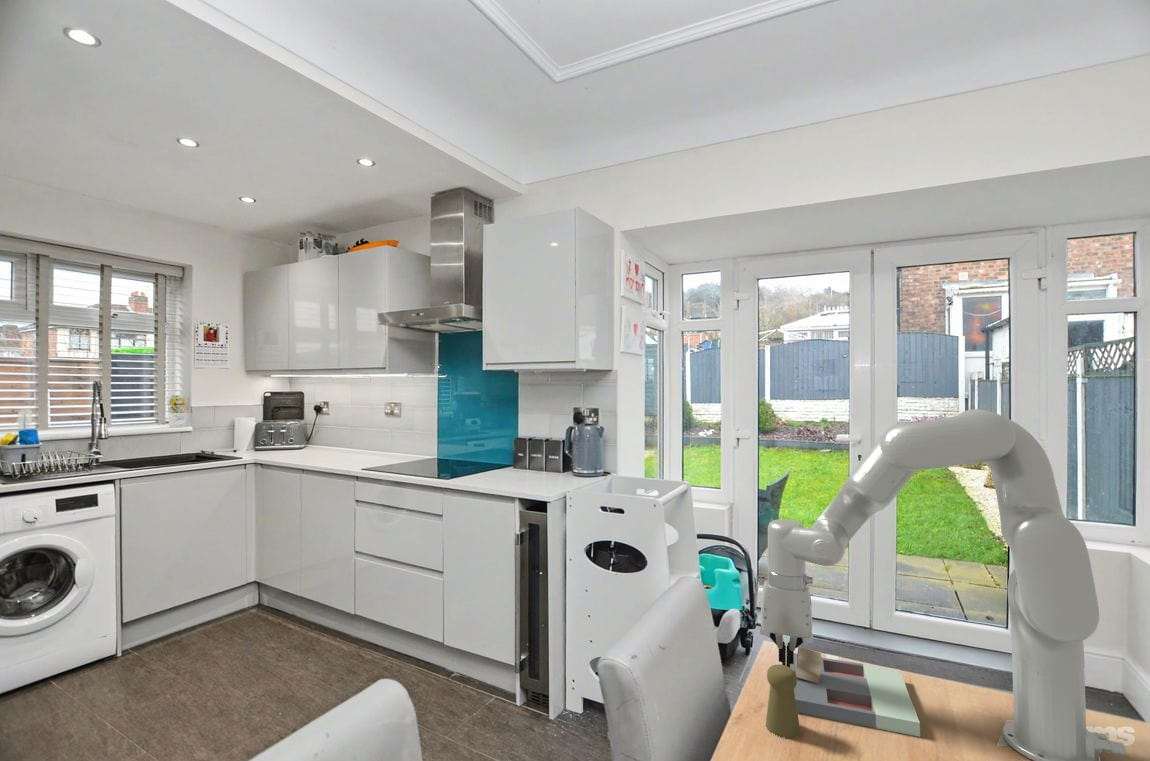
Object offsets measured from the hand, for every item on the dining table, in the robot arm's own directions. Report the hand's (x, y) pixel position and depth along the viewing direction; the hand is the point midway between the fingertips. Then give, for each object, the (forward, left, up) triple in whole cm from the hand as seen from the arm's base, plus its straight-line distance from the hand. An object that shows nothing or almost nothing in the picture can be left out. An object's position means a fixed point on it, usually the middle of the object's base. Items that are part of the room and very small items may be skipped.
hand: (786, 665), depth 115 cm
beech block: (-4, 0, -1) cm, 4 cm away
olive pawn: (0, +16, -4) cm, 17 cm away
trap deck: (-12, 0, -4) cm, 12 cm away
